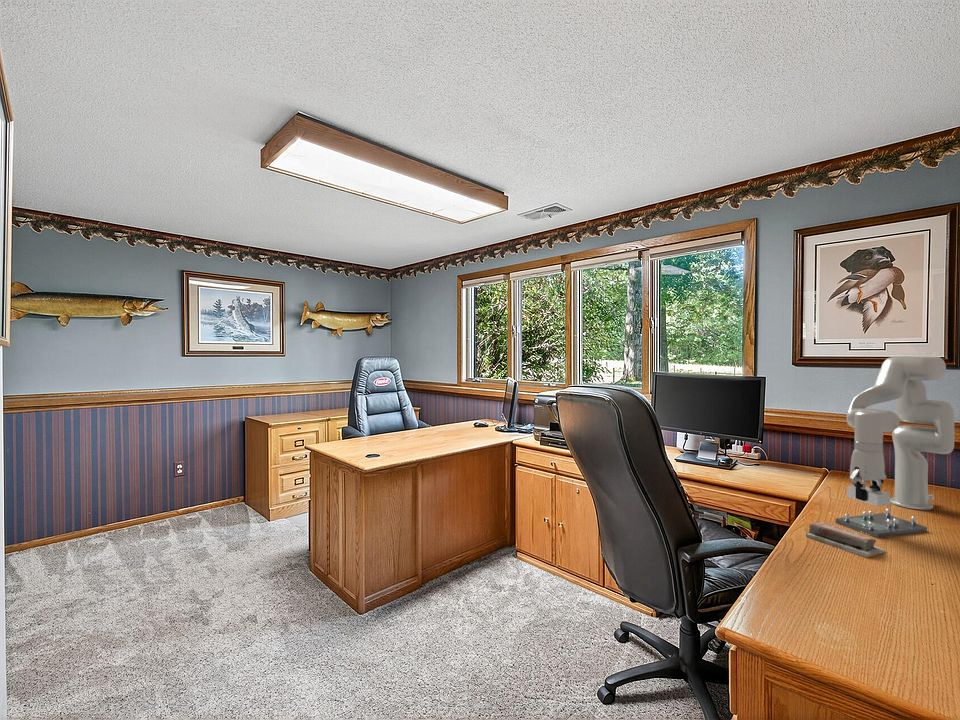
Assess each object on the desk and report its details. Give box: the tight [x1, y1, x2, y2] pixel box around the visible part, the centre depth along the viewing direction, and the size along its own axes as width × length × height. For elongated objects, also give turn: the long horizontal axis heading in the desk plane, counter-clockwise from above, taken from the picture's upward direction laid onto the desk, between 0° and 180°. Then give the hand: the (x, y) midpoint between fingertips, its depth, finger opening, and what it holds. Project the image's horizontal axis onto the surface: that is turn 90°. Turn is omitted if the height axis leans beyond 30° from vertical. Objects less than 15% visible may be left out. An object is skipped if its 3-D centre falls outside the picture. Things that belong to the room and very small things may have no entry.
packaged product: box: [805, 521, 886, 559], centre depth 146 cm, size 18×5×10 cm
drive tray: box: [834, 508, 928, 539], centre depth 159 cm, size 22×14×4 cm, turn 103°
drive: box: [846, 485, 891, 507], centre depth 158 cm, size 6×10×4 cm, turn 13°
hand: (867, 498), depth 158 cm, fingers closed on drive, 5 cm apart
